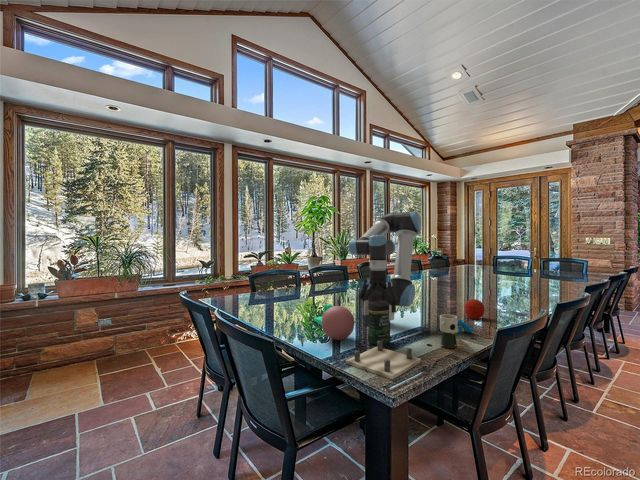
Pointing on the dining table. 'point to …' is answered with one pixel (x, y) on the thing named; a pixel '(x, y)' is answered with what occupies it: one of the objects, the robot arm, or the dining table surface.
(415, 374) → the dining table surface
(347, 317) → the pink ovoid
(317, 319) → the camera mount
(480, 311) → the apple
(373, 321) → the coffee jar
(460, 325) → the blue irregular piece
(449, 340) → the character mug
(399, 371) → the locator plate
